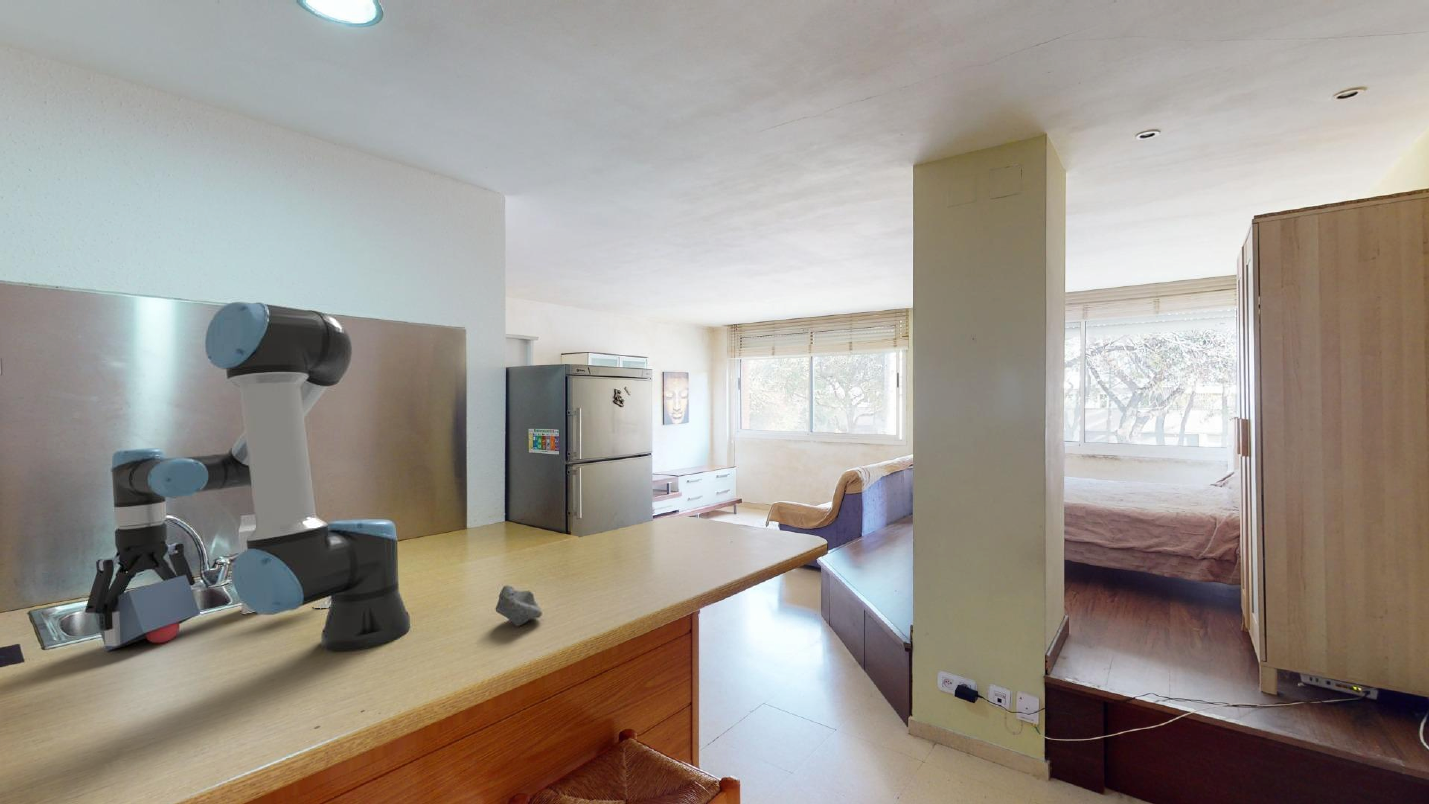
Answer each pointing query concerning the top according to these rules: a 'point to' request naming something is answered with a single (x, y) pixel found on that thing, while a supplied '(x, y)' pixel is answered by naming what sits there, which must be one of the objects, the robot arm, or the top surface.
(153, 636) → the ball
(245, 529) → the milk
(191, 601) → the blue gray block
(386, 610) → the robot arm
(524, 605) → the grey rock
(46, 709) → the top surface
